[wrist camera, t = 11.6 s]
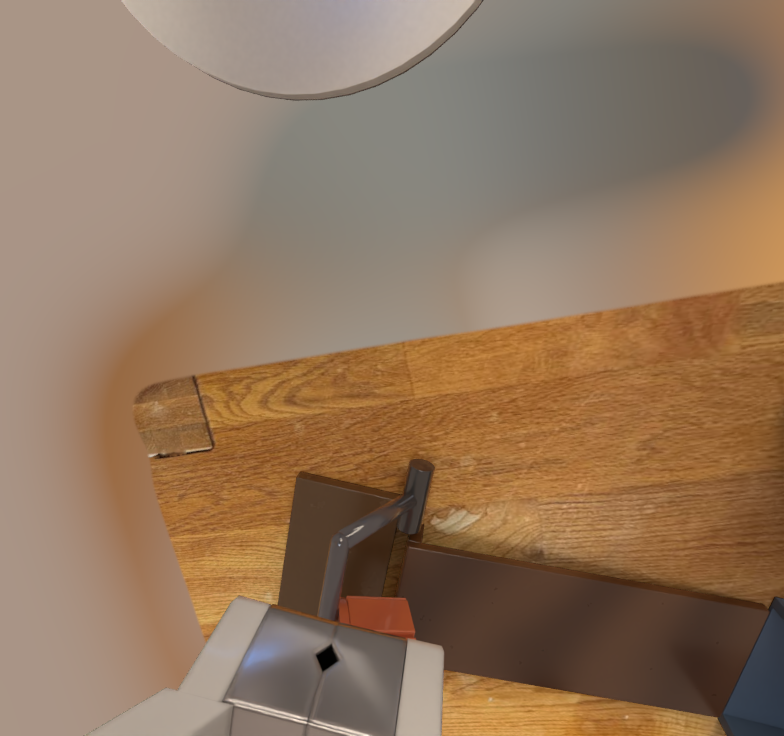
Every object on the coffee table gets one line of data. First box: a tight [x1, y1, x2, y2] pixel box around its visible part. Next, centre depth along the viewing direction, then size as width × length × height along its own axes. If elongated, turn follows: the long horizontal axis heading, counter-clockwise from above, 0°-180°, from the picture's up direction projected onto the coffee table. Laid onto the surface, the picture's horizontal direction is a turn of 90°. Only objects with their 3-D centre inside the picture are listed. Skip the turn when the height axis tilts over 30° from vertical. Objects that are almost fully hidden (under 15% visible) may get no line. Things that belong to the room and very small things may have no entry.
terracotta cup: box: [317, 459, 435, 640], centre depth 34 cm, size 11×16×7 cm
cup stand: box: [278, 472, 400, 616], centre depth 37 cm, size 8×14×10 cm, turn 169°
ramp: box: [395, 524, 770, 717], centre depth 39 cm, size 26×10×3 cm, turn 79°
